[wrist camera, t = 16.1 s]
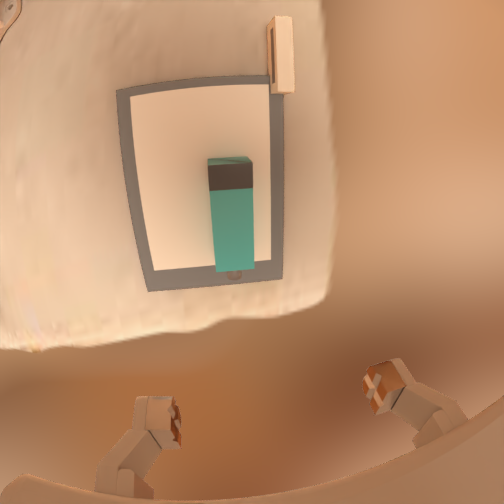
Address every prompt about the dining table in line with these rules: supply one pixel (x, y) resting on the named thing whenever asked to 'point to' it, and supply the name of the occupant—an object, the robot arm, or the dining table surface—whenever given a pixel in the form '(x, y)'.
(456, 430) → the robot arm
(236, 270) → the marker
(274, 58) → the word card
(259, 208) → the writing board
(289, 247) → the dining table surface
